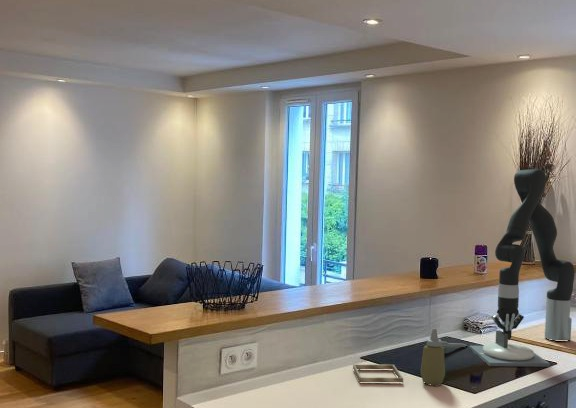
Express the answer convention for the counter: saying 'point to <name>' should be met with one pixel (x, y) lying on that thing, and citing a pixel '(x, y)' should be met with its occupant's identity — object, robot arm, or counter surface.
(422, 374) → the squeeze bottle
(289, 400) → the counter surface
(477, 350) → the dial plate
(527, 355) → the dial
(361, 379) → the bread board rim
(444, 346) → the caliper
